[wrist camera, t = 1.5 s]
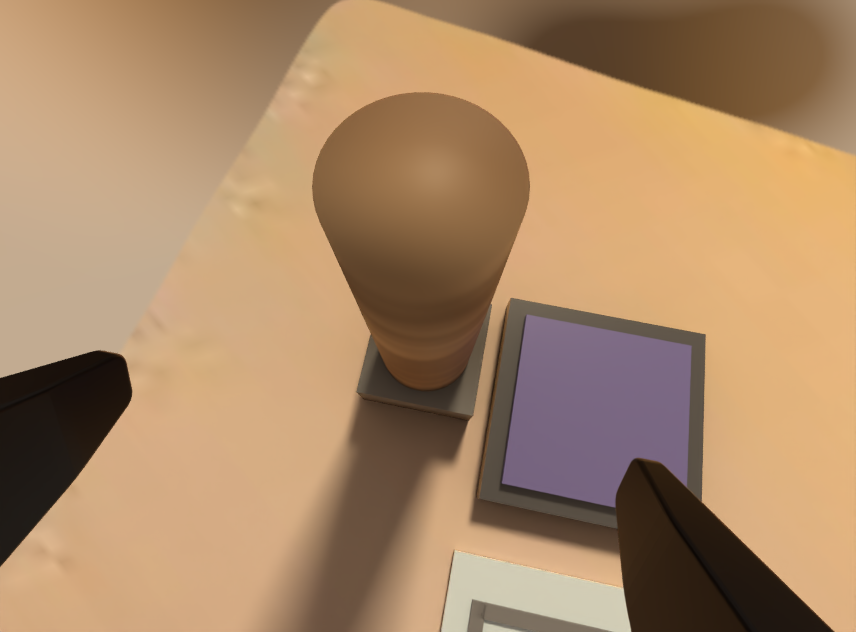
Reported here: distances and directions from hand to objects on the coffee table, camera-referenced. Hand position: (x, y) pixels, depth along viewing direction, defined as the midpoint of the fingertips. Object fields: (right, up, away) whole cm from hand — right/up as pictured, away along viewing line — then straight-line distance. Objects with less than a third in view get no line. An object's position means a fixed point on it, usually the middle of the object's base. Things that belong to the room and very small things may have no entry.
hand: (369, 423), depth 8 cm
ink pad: (+8, -2, +11) cm, 13 cm away
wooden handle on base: (+1, 0, +12) cm, 12 cm away
